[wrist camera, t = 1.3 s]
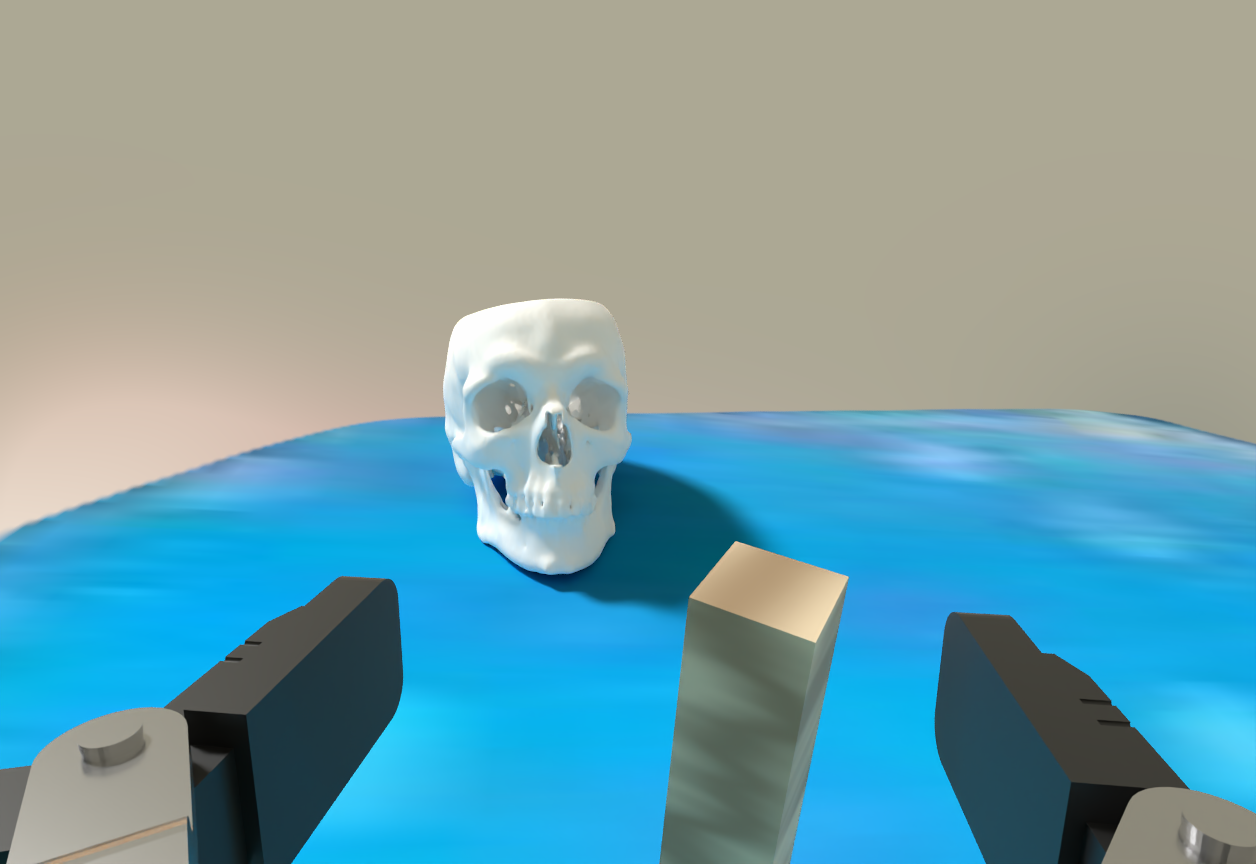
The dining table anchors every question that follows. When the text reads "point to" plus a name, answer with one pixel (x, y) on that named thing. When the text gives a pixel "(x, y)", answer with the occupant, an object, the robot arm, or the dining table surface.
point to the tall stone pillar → (749, 707)
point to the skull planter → (539, 426)
